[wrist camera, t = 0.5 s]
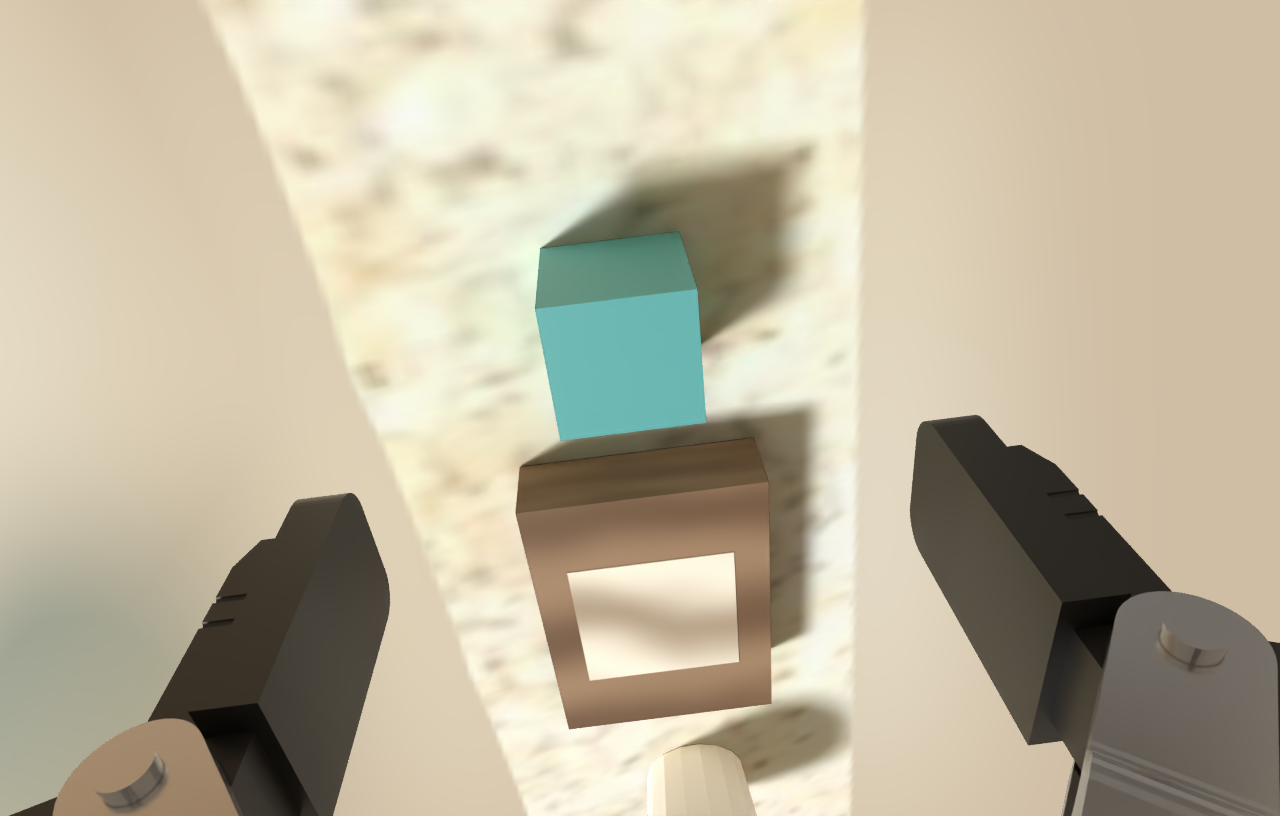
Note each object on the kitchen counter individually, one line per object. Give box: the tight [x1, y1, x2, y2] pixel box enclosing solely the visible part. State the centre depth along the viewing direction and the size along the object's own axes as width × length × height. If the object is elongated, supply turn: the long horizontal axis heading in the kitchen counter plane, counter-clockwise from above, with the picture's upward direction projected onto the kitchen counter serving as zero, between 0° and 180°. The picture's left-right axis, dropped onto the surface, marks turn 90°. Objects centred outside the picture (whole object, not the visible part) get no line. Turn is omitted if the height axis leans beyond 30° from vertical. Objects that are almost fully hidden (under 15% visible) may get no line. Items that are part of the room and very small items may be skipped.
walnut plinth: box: [516, 438, 771, 729], centre depth 36 cm, size 14×10×3 cm
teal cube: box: [535, 231, 706, 441], centre depth 27 cm, size 5×5×5 cm
